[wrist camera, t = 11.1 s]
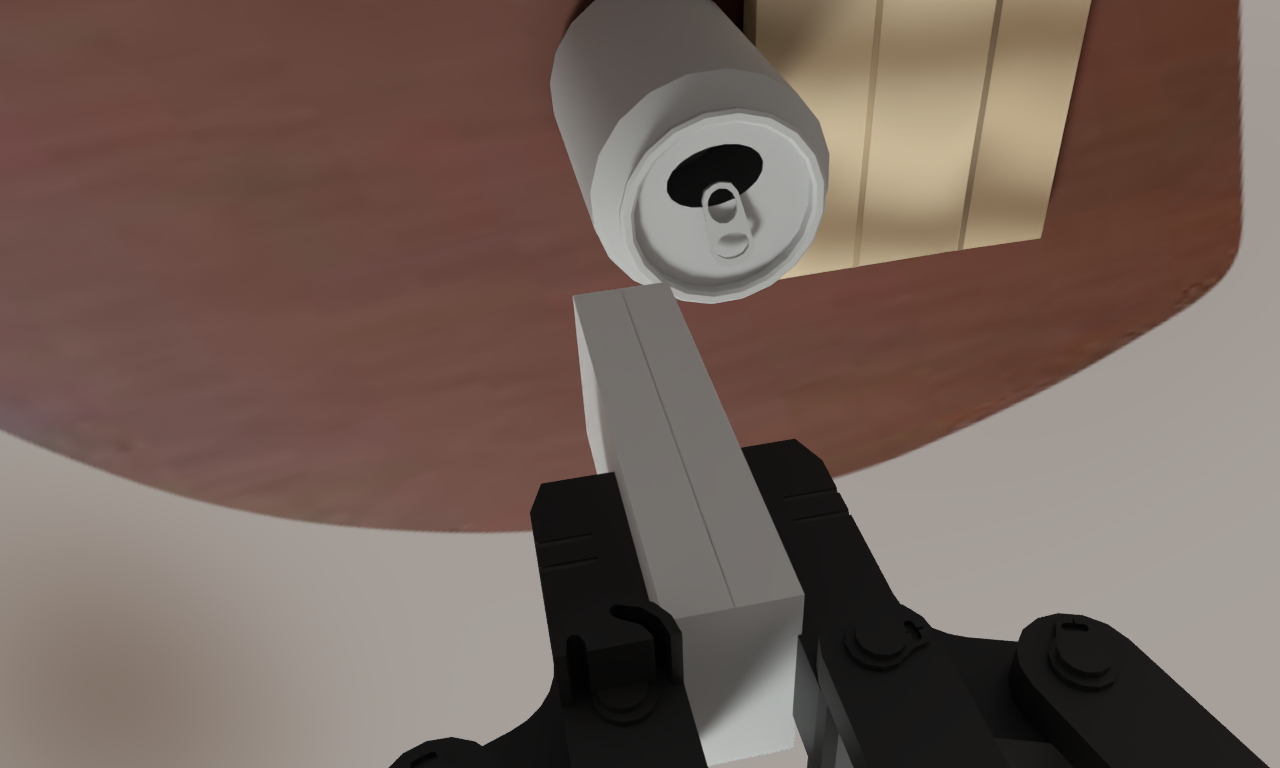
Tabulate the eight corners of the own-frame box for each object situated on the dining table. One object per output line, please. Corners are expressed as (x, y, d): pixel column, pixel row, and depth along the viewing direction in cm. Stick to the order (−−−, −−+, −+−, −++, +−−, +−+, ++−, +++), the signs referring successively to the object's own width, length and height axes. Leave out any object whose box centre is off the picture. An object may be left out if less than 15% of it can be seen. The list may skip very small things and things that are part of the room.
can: (719, -53, 37) (835, 54, 27) (752, 136, 41) (862, 283, 32) (521, 8, 36) (568, 137, 27) (576, 190, 41) (633, 355, 32)
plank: (747, -278, 32) (763, -275, 31) (1018, -297, 34) (1043, -296, 33) (739, 267, 44) (750, 284, 43) (940, 234, 46) (956, 250, 45)
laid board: (1020, -298, 34) (1043, -296, 33) (1129, -305, 34) (1156, -303, 33) (941, 234, 46) (956, 250, 45) (1023, 223, 46) (1040, 238, 45)
